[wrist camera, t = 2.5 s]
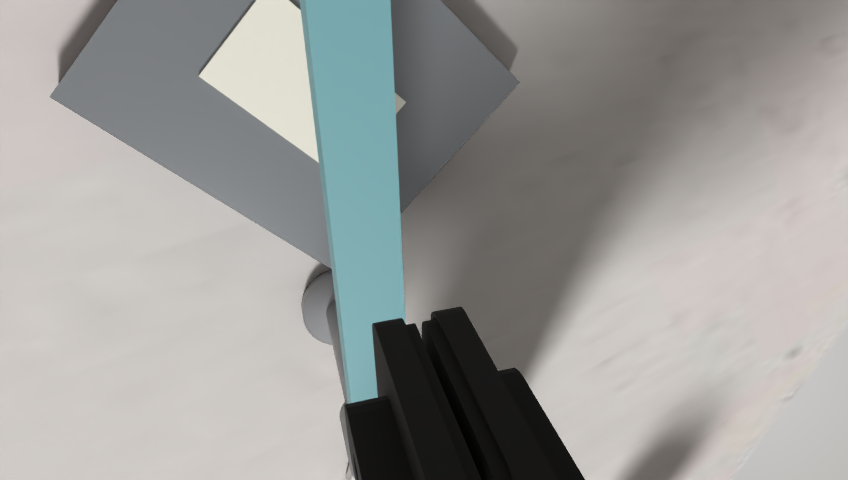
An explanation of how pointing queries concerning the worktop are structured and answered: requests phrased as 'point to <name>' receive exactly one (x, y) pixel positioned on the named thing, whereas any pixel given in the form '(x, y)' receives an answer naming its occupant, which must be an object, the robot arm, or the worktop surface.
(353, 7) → the swing bar
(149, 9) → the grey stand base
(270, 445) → the worktop surface
